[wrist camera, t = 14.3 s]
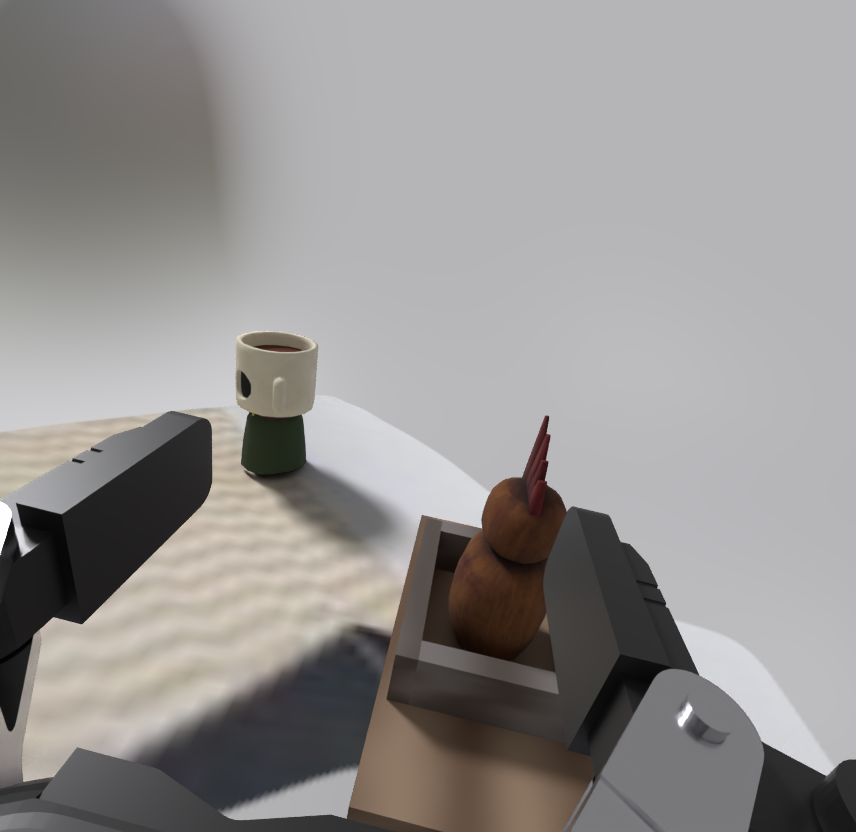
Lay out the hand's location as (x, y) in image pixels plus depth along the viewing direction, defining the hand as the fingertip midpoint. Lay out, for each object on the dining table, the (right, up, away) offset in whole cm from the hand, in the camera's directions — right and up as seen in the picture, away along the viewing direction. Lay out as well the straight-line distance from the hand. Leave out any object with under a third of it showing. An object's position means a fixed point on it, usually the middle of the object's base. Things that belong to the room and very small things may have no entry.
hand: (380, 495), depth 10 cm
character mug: (-15, -3, +36) cm, 39 cm away
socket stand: (+5, -14, +20) cm, 25 cm away
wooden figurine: (+5, -13, +19) cm, 24 cm away
